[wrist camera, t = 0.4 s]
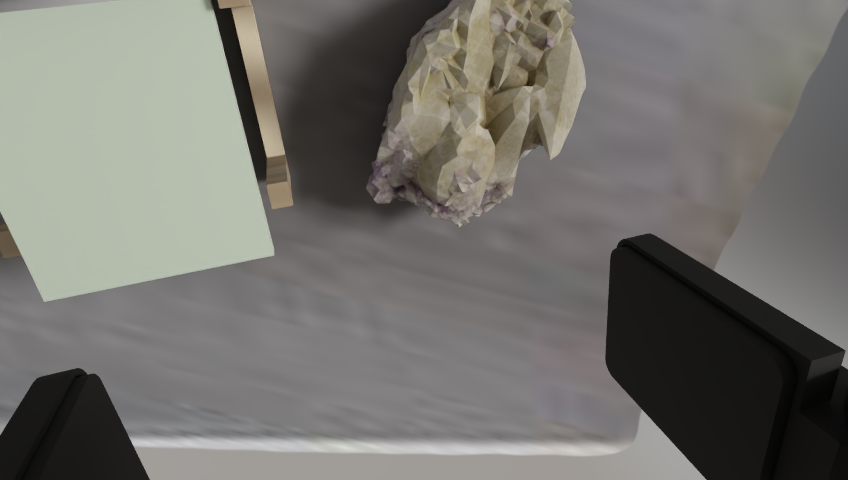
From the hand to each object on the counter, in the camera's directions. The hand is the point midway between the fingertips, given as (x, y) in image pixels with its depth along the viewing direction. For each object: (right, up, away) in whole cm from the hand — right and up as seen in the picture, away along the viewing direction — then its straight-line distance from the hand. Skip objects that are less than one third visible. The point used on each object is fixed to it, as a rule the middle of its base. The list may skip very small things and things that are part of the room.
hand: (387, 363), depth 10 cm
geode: (+4, +12, +29) cm, 32 cm away
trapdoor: (-16, +11, +18) cm, 26 cm away
